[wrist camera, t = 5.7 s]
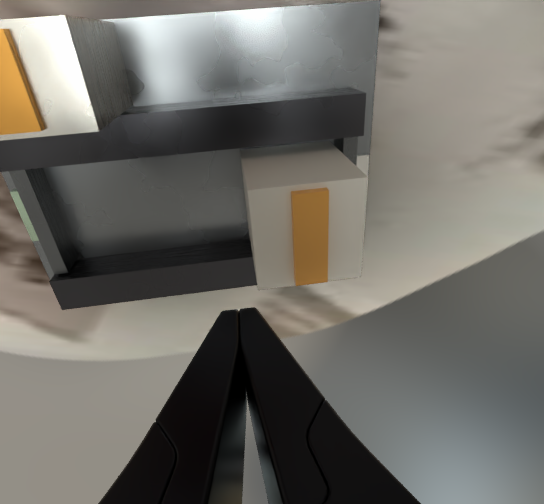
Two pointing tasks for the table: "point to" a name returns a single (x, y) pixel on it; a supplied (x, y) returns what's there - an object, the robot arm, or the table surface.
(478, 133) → the table surface
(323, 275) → the block
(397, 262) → the table surface
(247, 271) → the grey desk organizer
